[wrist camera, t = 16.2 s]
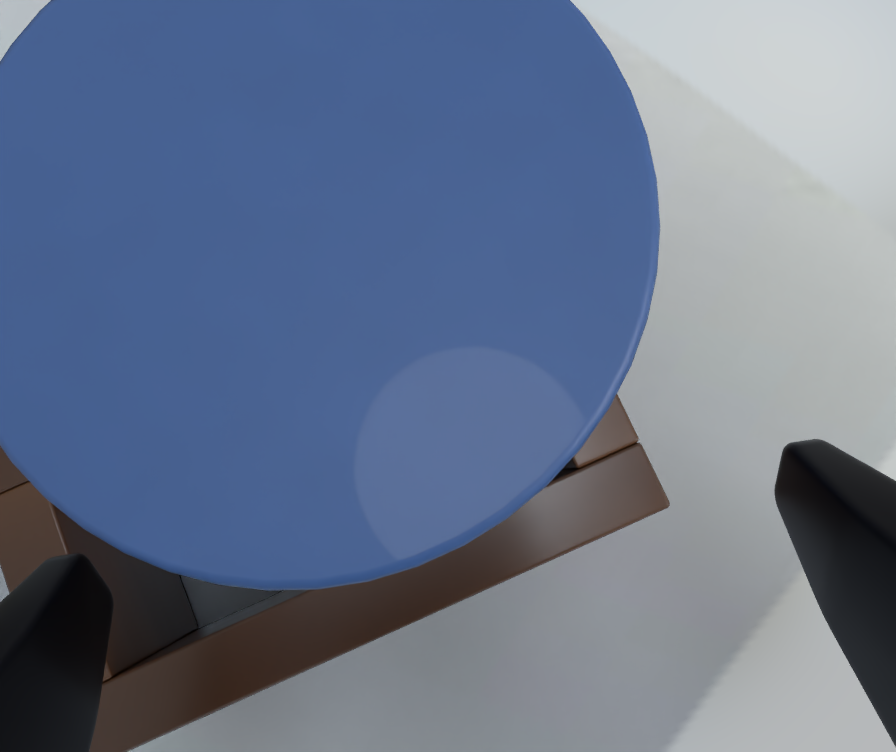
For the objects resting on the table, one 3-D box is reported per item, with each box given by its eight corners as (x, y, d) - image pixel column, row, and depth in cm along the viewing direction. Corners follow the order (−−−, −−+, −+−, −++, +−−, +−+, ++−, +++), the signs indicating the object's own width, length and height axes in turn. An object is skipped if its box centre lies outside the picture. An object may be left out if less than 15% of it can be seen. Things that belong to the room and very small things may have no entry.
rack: (625, 497, 16) (672, 506, 12) (168, 703, 16) (68, 778, 12) (510, 257, 17) (520, 193, 13) (77, 447, 17) (-43, 440, 13)
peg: (439, 520, 17) (250, 768, 3) (352, 423, 17) (-206, 202, 3) (534, 429, 17) (823, 226, 3) (446, 336, 17) (323, -237, 3)
